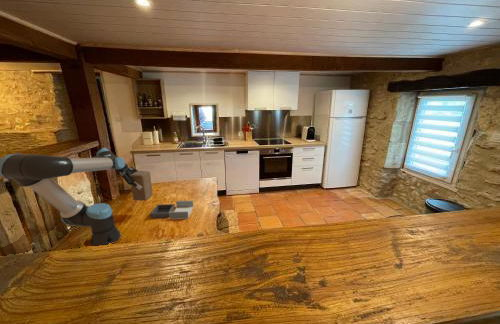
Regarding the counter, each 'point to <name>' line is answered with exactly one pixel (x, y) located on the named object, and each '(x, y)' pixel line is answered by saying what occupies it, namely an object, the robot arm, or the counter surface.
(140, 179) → the wooden block
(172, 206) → the box
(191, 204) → the walled bay
